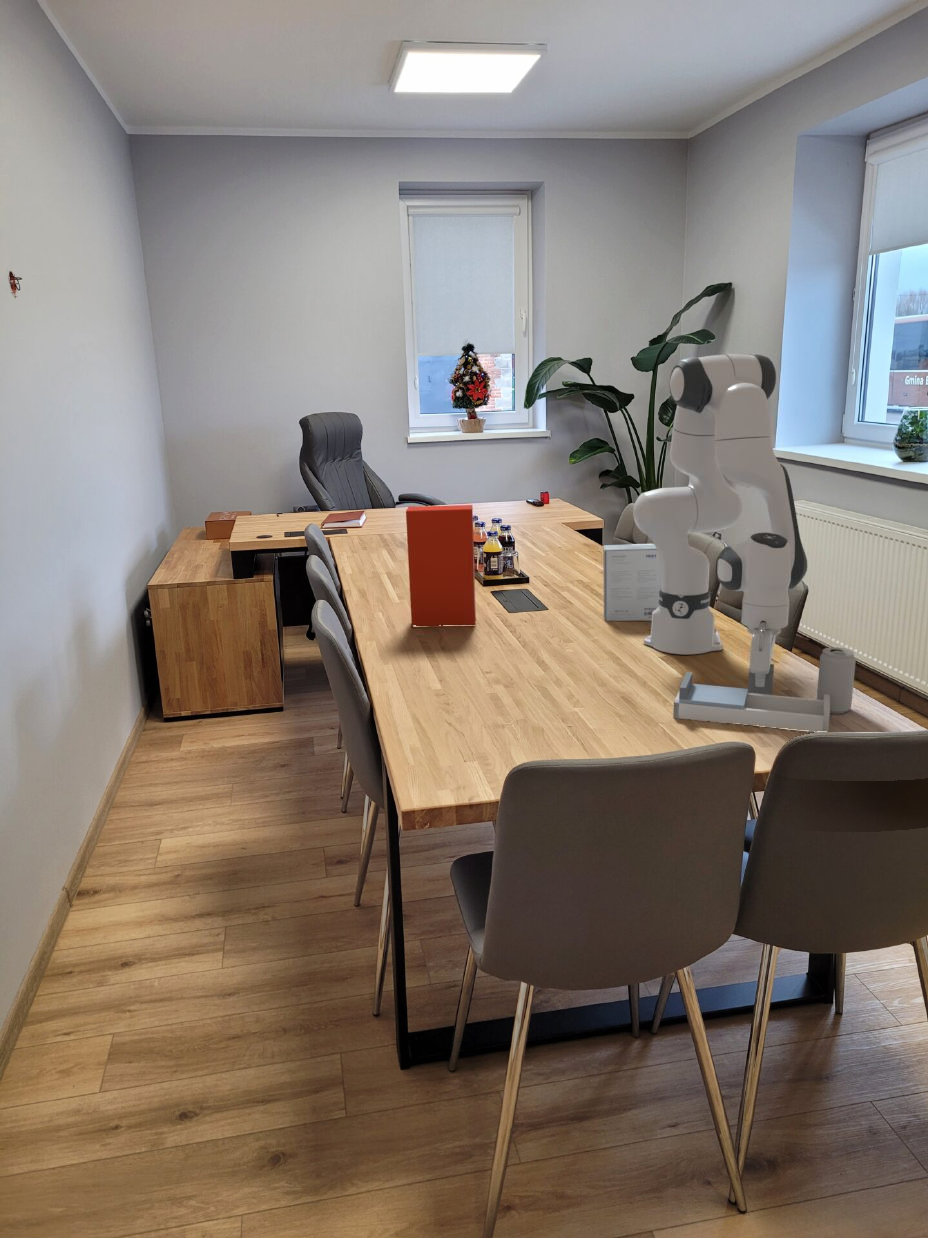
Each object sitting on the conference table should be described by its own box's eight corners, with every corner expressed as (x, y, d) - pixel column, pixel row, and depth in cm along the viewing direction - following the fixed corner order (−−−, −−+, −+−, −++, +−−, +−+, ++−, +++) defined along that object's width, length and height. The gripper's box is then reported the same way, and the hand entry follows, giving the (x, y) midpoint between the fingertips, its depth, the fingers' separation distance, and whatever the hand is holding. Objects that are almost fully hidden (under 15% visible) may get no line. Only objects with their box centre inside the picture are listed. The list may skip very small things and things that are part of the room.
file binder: (475, 626, 239) (471, 508, 230) (411, 628, 239) (405, 510, 231) (475, 618, 246) (472, 504, 238) (414, 620, 247) (408, 506, 239)
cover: (686, 686, 179) (686, 671, 179) (747, 692, 175) (748, 677, 174) (679, 702, 171) (679, 687, 170) (743, 709, 167) (744, 693, 166)
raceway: (680, 701, 181) (681, 680, 179) (827, 716, 170) (829, 694, 169) (673, 717, 172) (673, 696, 171) (827, 734, 162) (829, 712, 161)
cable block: (772, 687, 181) (774, 664, 180) (771, 694, 177) (772, 671, 176) (749, 685, 183) (751, 662, 182) (748, 692, 179) (749, 669, 178)
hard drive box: (658, 613, 245) (660, 543, 240) (662, 621, 238) (664, 548, 233) (602, 614, 247) (603, 544, 242) (603, 621, 240) (604, 549, 234)
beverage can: (842, 702, 177) (847, 645, 174) (856, 714, 171) (862, 655, 168) (810, 703, 177) (815, 646, 174) (824, 715, 171) (829, 656, 168)
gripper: (778, 630, 166) (774, 699, 169) (783, 604, 184) (779, 667, 187) (743, 628, 168) (740, 696, 171) (752, 602, 186) (748, 664, 190)
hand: (760, 681), depth 180 cm, fingers closed on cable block, 4 cm apart
